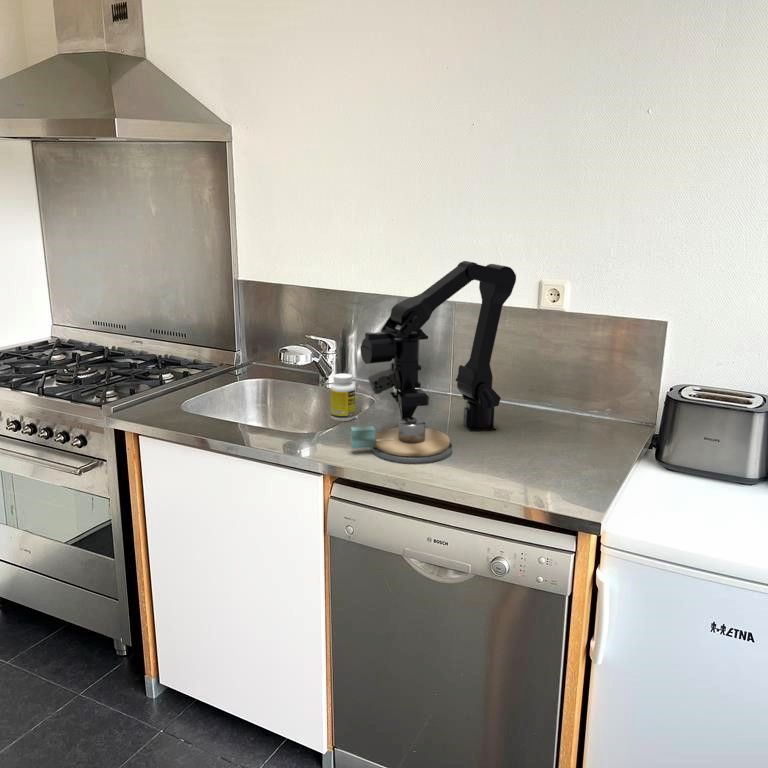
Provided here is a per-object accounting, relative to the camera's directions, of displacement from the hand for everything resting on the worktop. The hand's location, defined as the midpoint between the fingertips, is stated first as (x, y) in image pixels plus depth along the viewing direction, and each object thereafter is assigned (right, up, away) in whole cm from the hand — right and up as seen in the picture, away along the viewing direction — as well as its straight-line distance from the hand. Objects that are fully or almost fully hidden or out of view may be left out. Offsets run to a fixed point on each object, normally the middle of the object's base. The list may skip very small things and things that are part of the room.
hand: (405, 424), depth 177 cm
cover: (+1, -3, -7) cm, 7 cm away
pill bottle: (-15, +1, +16) cm, 22 cm away
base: (+1, -5, -6) cm, 8 cm away
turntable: (-1, -4, -7) cm, 8 cm away
